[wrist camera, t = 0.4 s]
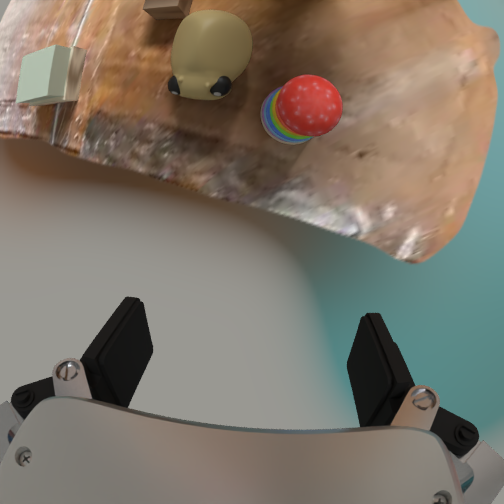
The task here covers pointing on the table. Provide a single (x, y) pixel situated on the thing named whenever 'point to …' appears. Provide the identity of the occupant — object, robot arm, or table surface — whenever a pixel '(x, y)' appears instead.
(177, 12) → the walnut cube
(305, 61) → the table surface
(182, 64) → the toy frog
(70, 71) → the base block
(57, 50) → the top block
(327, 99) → the stacking toy
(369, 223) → the table surface
